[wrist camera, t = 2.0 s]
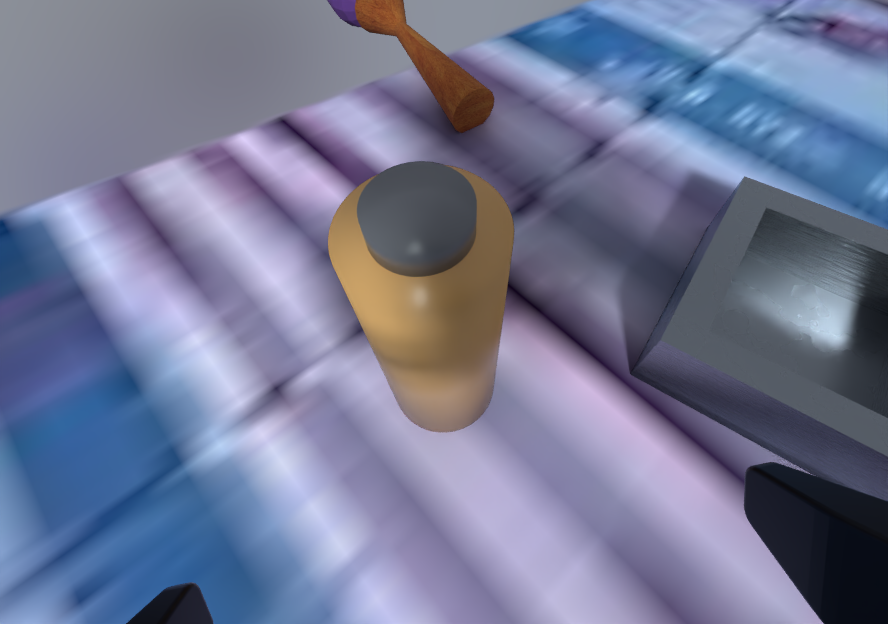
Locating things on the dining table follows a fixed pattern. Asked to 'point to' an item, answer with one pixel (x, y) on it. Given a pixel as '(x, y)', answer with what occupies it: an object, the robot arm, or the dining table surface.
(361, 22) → the kendama
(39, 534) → the dining table surface
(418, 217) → the tan cylinder
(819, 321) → the gray square dish
